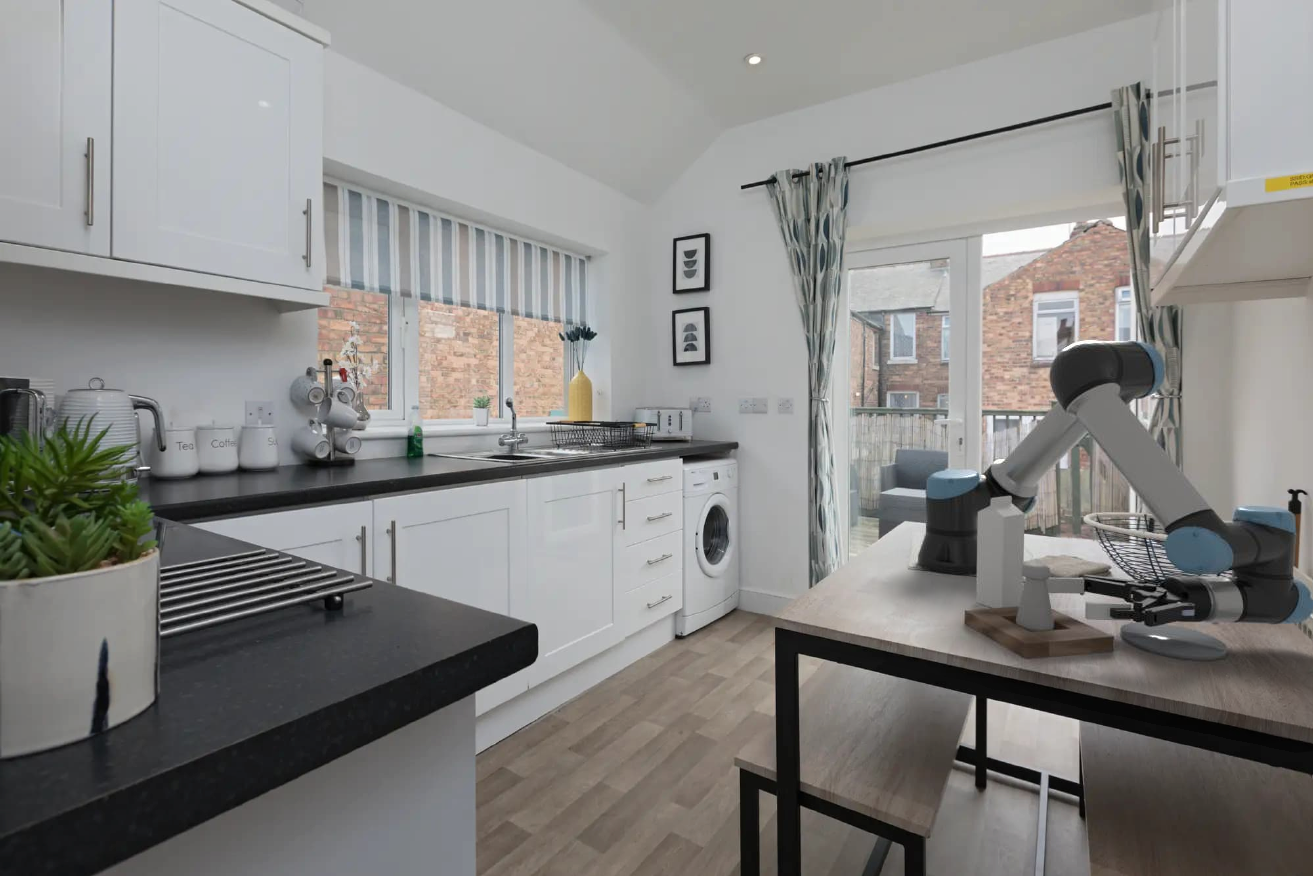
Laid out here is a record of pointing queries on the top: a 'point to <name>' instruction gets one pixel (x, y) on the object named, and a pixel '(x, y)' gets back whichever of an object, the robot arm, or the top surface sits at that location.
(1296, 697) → the top surface
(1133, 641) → the coaster
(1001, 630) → the socket block
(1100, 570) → the washcloth
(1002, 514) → the milk
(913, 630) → the top surface
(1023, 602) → the salt shaker
